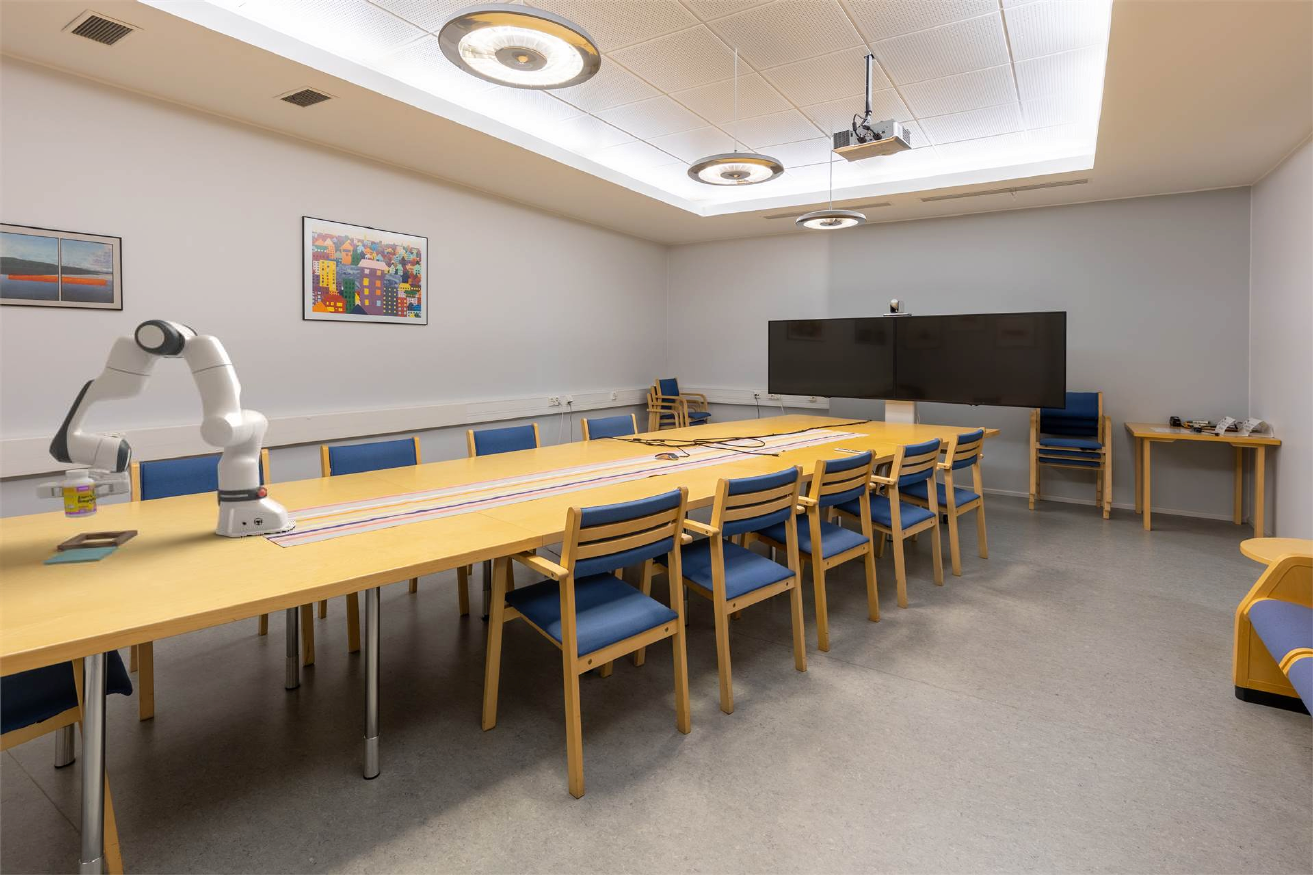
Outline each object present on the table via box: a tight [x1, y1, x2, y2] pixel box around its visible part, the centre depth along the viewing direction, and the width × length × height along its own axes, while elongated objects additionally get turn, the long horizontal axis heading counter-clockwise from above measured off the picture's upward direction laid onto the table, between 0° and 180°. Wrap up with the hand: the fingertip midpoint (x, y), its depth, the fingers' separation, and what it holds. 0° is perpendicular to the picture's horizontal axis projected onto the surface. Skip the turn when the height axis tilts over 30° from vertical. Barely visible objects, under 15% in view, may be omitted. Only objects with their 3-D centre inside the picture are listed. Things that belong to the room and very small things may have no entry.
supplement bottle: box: [62, 468, 98, 519], centre depth 177 cm, size 7×7×13 cm
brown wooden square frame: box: [56, 529, 139, 552], centre depth 191 cm, size 14×14×2 cm
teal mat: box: [42, 546, 120, 565], centre depth 178 cm, size 12×12×1 cm
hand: (78, 492), depth 176 cm, fingers closed on supplement bottle, 7 cm apart
